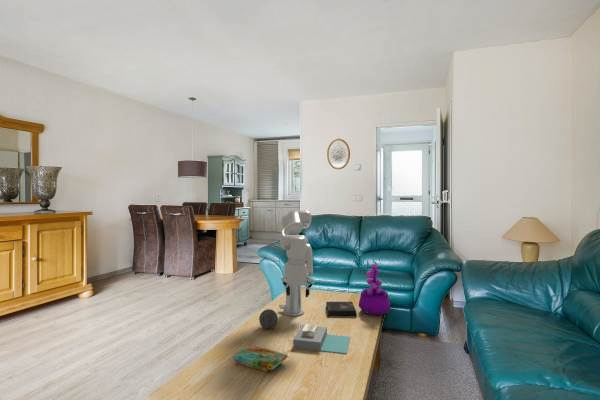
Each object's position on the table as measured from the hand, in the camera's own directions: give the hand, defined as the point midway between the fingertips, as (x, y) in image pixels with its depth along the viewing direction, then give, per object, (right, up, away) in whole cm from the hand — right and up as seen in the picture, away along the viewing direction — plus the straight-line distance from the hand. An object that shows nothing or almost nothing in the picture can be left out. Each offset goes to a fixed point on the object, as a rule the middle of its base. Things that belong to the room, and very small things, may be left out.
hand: (297, 295), depth 165 cm
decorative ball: (-16, -21, +13) cm, 29 cm away
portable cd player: (+26, -22, +38) cm, 51 cm away
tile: (+6, -17, -3) cm, 19 cm away
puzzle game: (-16, -22, -25) cm, 37 cm away
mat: (+19, -21, -6) cm, 29 cm away
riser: (+6, -21, -3) cm, 23 cm away
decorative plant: (+47, -21, +36) cm, 63 cm away
